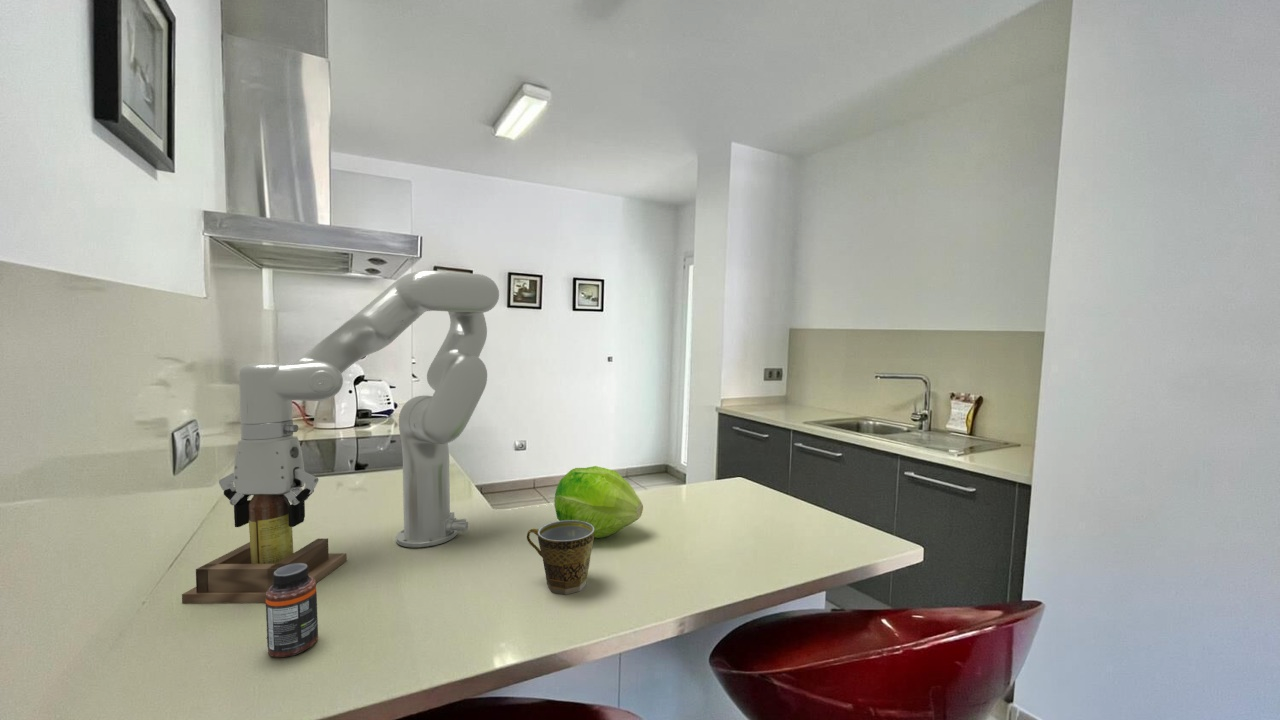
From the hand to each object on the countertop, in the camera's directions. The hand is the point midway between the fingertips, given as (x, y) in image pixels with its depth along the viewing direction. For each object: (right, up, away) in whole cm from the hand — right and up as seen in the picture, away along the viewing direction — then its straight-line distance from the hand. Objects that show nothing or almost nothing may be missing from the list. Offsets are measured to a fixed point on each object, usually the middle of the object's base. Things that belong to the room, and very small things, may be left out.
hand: (270, 524), depth 90 cm
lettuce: (+58, -10, +21) cm, 63 cm away
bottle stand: (0, -10, 0) cm, 10 cm away
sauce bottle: (0, -9, 0) cm, 9 cm away
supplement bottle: (+18, -11, -20) cm, 29 cm away
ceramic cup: (+53, -10, -2) cm, 54 cm away
